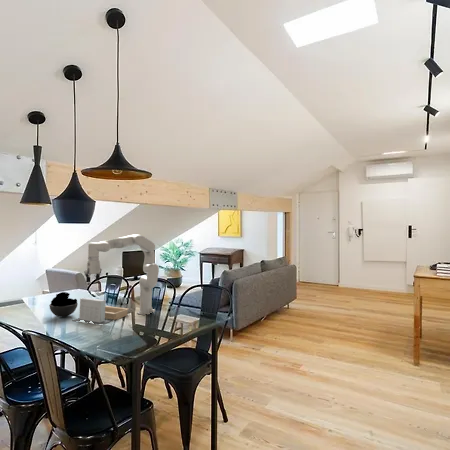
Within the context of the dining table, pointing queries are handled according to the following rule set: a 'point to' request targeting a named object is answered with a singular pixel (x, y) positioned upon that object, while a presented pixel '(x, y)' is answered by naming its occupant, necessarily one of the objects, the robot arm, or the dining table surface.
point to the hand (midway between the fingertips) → (92, 281)
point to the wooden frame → (115, 312)
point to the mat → (94, 322)
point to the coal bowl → (63, 305)
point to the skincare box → (92, 310)
